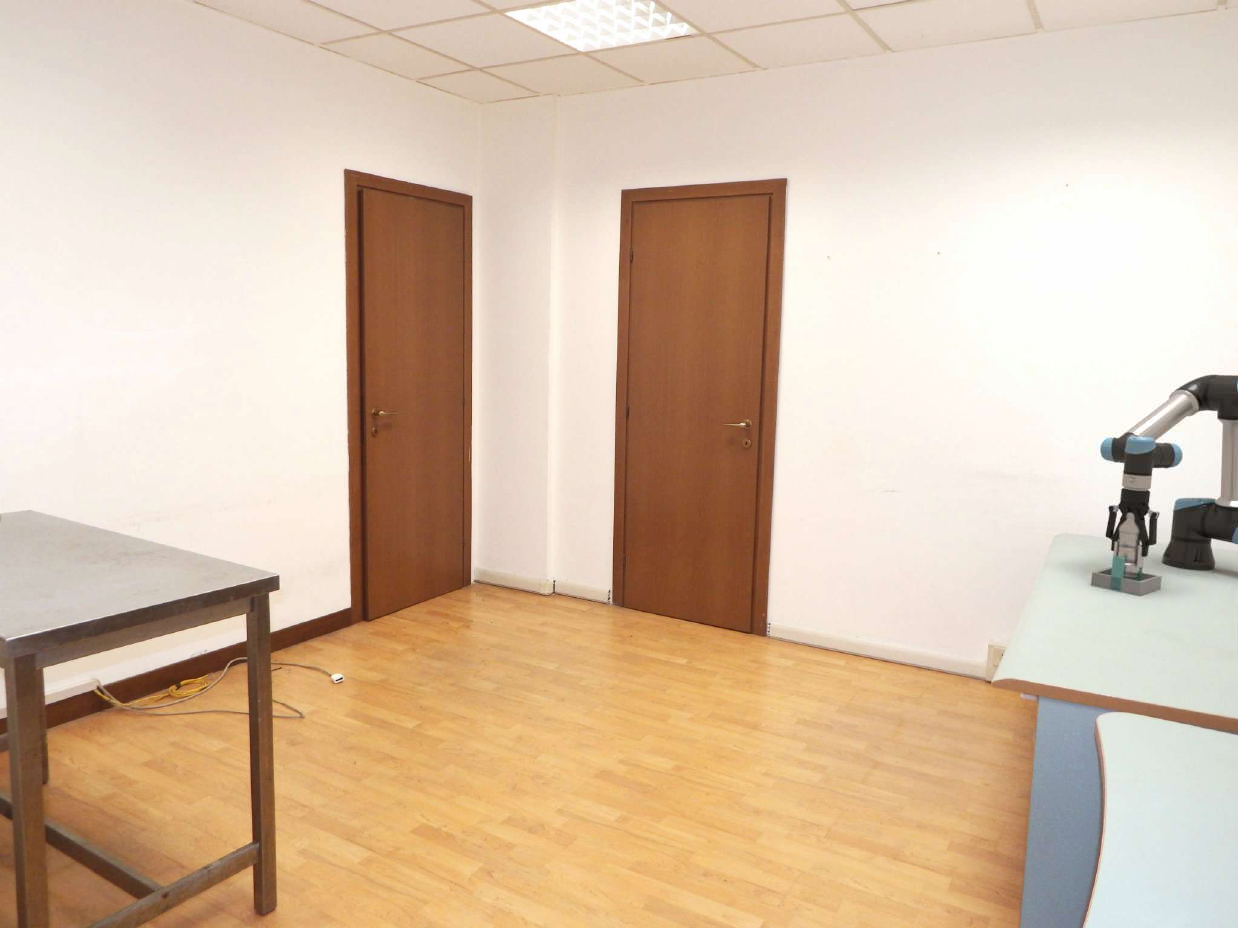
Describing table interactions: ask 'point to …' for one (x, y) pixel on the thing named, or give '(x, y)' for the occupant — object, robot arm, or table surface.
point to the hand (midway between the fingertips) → (1127, 564)
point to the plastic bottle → (1129, 545)
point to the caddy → (1125, 579)
